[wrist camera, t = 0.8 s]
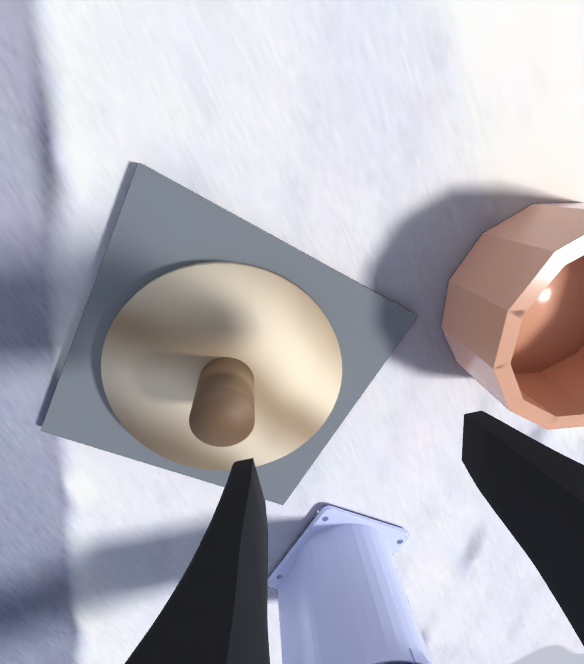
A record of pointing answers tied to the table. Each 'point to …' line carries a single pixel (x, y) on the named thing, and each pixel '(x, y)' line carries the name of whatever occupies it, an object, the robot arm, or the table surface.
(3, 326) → the table surface
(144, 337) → the lid
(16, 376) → the table surface
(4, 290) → the table surface
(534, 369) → the bowl
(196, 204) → the mat
